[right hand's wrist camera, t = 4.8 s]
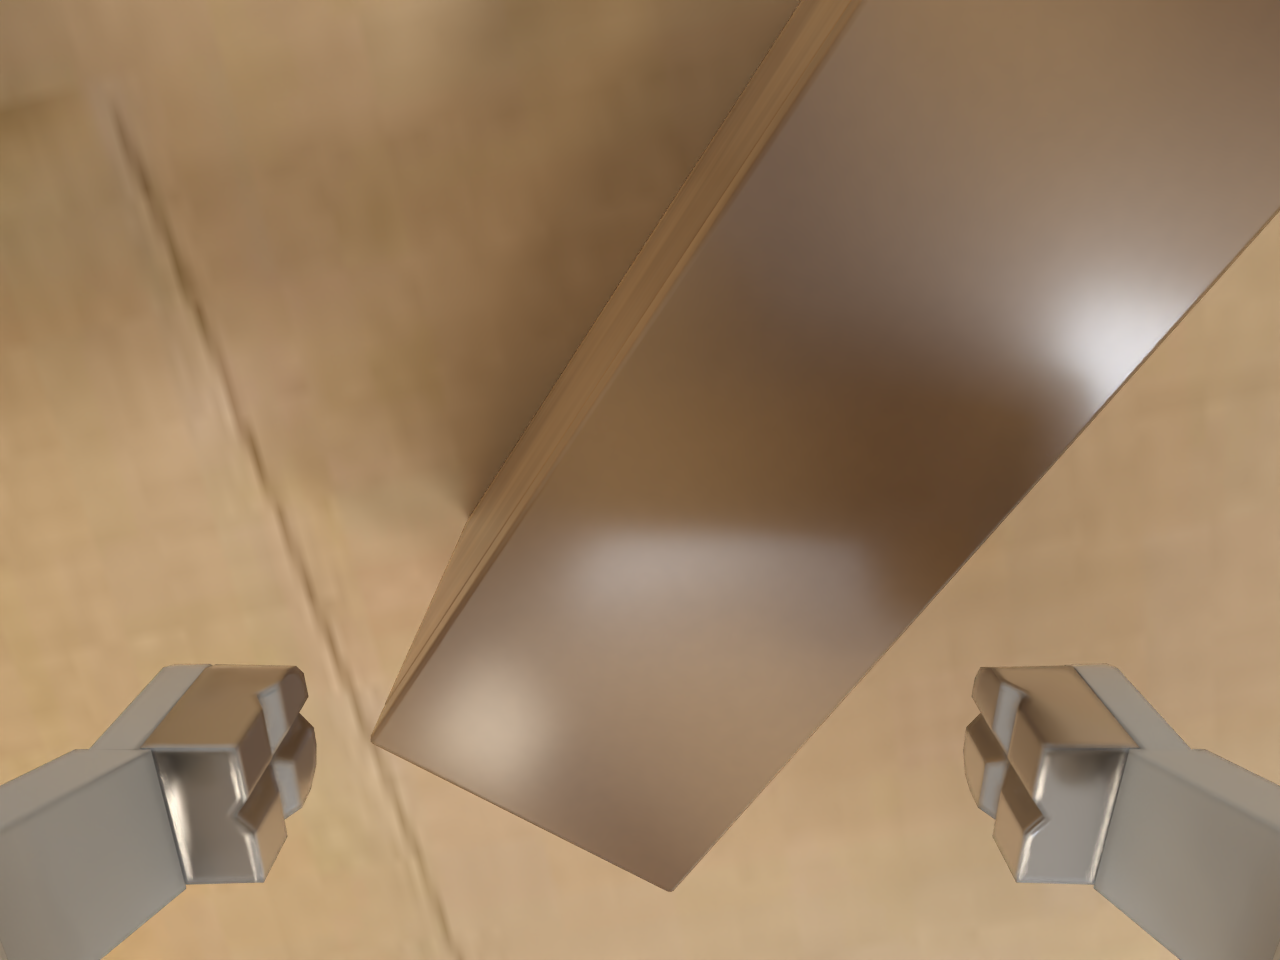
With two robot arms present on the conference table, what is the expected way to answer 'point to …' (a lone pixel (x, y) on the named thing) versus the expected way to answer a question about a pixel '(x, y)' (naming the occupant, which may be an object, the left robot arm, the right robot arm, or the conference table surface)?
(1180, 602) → the conference table surface
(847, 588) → the cabinet
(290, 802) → the right robot arm
